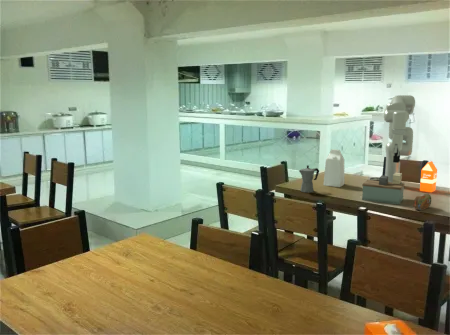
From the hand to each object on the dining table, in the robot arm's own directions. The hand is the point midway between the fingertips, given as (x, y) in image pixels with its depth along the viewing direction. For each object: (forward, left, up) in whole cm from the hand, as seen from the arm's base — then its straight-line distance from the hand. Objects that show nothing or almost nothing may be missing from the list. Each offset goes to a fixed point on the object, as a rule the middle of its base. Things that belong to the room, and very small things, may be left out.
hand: (396, 161), depth 255 cm
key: (-8, 0, -15) cm, 17 cm away
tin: (+8, +17, -25) cm, 32 cm away
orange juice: (-42, +15, -25) cm, 51 cm away
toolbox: (-4, -7, -25) cm, 26 cm away
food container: (-19, -14, -25) cm, 35 cm away
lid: (-2, -7, -16) cm, 18 cm away
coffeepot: (0, -56, -25) cm, 61 cm away
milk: (-28, -46, -25) cm, 60 cm away
